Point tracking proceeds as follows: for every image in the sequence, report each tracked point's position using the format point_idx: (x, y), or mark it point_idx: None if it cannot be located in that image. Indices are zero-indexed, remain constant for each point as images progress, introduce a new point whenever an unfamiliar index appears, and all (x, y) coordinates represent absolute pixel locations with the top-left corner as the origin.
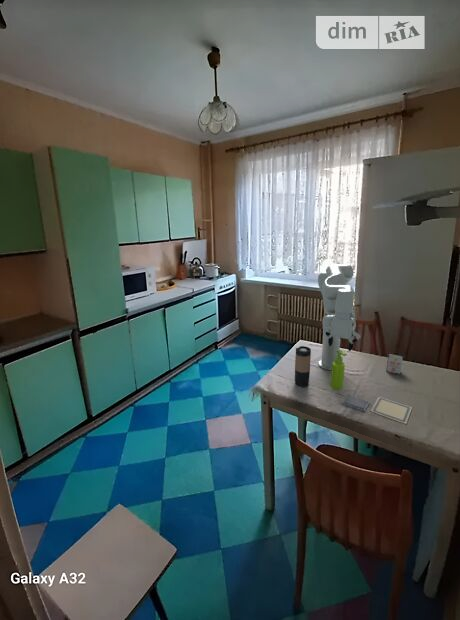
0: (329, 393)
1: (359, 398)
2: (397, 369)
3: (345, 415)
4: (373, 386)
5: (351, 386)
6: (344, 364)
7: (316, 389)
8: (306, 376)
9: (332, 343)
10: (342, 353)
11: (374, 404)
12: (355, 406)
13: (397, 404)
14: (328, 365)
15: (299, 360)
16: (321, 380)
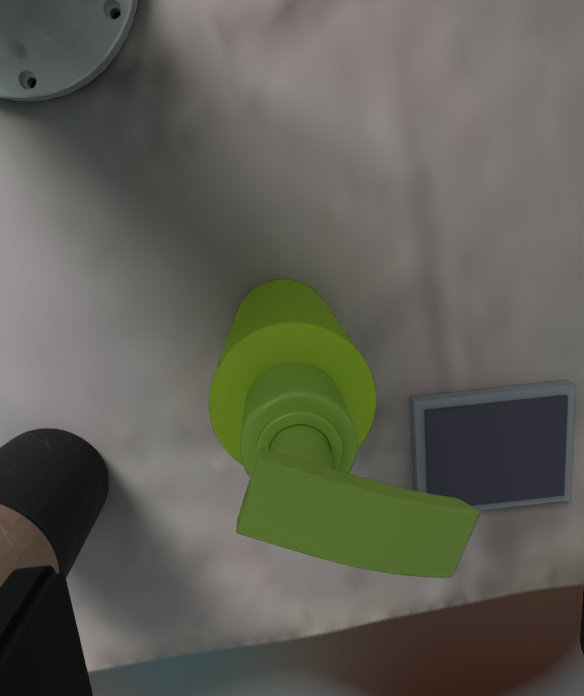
0: None
1: (501, 393)
2: None
3: (476, 595)
4: (532, 101)
5: (379, 240)
6: (367, 373)
7: (188, 473)
8: (73, 562)
9: (53, 594)
10: (398, 564)
11: None
12: (508, 500)
13: None
14: (35, 52)
15: None
16: (139, 326)
